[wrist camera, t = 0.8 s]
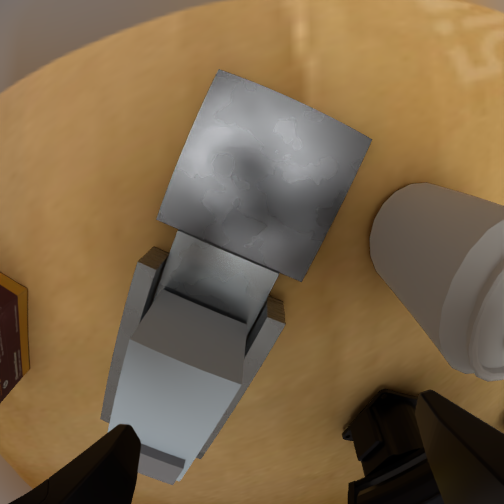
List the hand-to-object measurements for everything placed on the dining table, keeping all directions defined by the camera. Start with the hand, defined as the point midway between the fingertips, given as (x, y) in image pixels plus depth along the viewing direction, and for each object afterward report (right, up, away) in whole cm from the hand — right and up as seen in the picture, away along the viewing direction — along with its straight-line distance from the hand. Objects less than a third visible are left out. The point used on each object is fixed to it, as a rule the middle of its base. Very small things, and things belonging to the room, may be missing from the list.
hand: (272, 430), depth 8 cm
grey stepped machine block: (-6, -4, +14) cm, 16 cm away
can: (+11, +6, +12) cm, 17 cm away
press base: (-4, +2, +13) cm, 14 cm away
